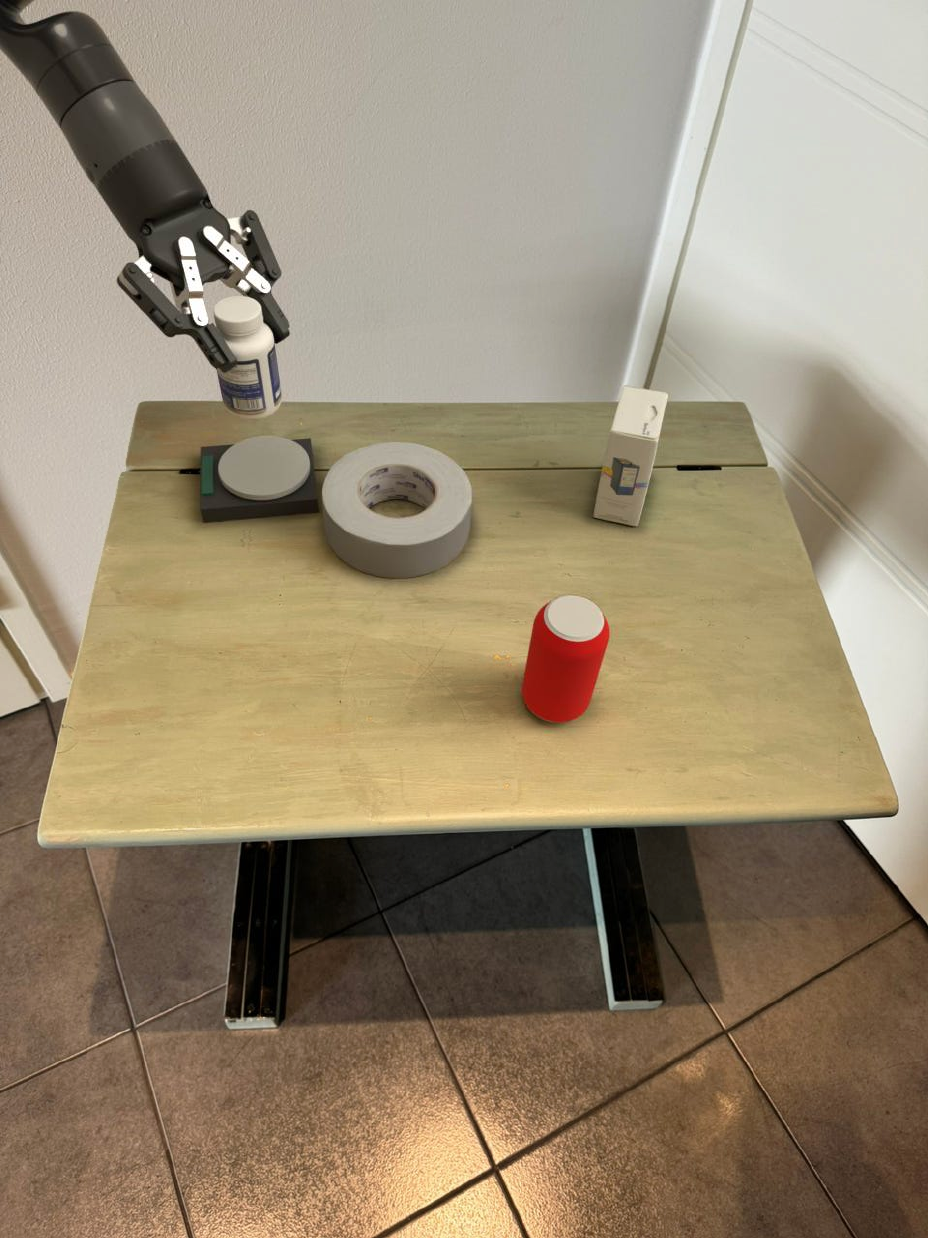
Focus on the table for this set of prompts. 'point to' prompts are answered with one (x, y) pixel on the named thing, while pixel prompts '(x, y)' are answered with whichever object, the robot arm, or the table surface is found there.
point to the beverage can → (564, 658)
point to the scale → (257, 479)
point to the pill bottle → (248, 359)
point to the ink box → (630, 455)
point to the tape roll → (389, 539)
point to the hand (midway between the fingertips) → (257, 352)
